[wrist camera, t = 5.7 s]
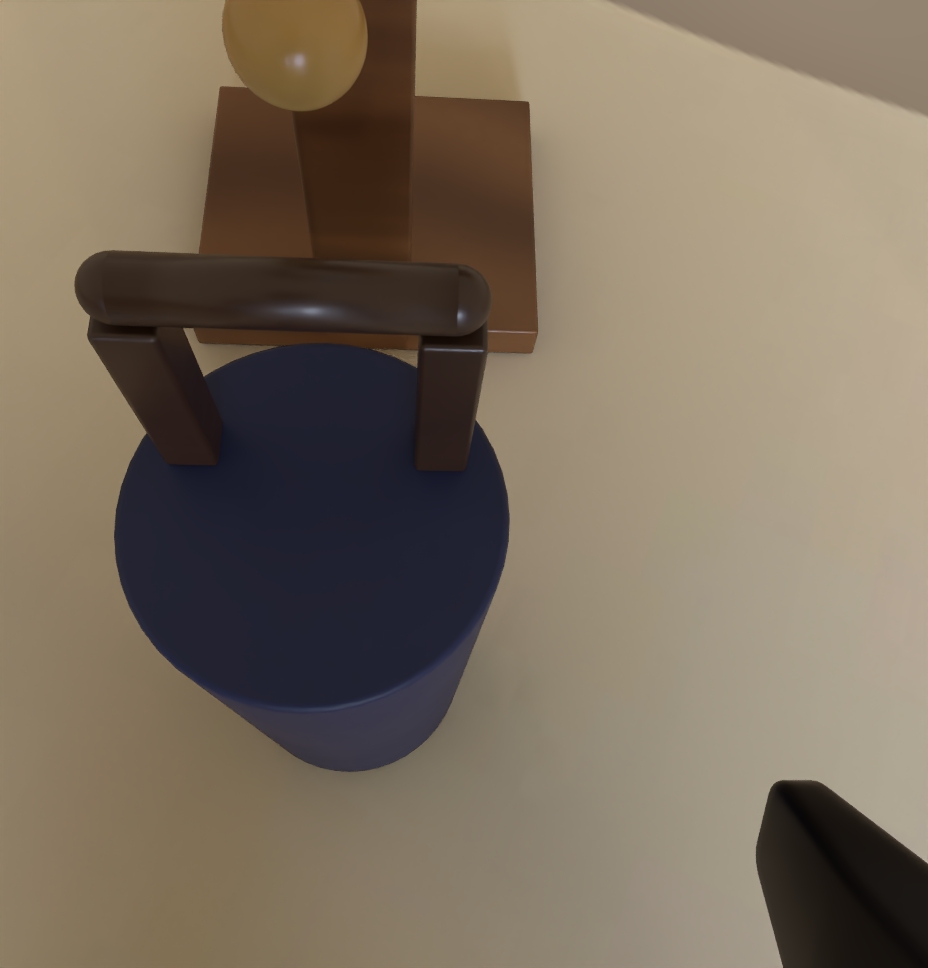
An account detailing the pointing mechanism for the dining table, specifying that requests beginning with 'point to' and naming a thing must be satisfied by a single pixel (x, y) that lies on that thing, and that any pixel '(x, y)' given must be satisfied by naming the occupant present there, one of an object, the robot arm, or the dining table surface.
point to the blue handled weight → (306, 489)
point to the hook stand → (365, 162)
